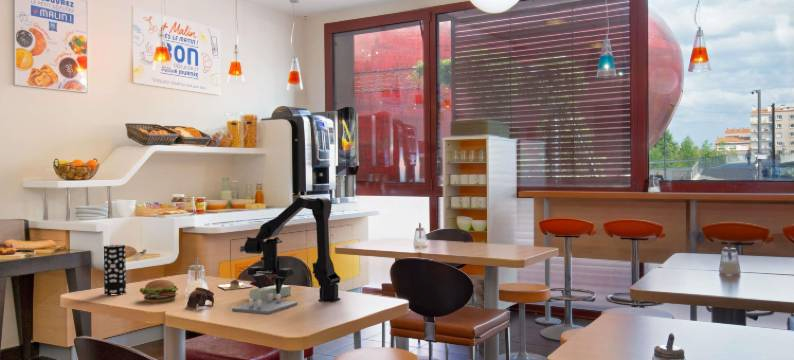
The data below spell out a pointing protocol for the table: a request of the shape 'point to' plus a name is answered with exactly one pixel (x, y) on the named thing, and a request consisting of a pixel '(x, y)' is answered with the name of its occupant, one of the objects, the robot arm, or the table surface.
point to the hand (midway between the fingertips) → (270, 293)
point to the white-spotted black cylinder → (114, 269)
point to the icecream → (266, 281)
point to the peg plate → (265, 305)
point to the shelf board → (269, 292)
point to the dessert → (235, 285)
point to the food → (159, 291)
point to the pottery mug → (200, 298)
